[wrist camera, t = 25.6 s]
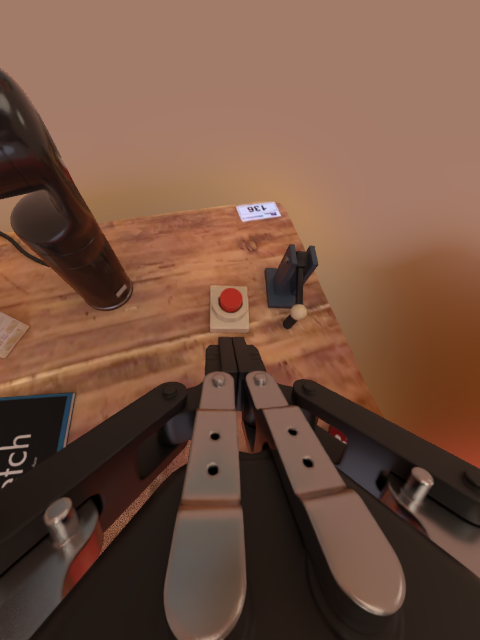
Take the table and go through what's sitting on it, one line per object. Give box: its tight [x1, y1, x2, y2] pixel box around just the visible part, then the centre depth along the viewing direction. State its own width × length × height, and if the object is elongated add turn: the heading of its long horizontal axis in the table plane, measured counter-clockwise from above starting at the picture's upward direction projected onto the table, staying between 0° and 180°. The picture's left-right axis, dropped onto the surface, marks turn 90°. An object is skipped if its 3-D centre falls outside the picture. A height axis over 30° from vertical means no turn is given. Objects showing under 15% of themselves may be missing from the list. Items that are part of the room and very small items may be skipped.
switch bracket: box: [265, 244, 318, 308], centre depth 48 cm, size 10×8×13 cm
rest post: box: [283, 314, 298, 329], centre depth 48 cm, size 2×2×5 cm
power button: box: [220, 288, 243, 312], centre depth 45 cm, size 4×4×2 cm
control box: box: [210, 285, 249, 333], centre depth 48 cm, size 10×8×4 cm
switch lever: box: [290, 251, 308, 320], centre depth 44 cm, size 13×3×3 cm, turn 2°
